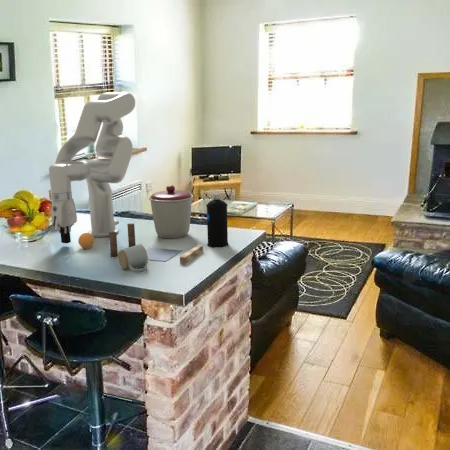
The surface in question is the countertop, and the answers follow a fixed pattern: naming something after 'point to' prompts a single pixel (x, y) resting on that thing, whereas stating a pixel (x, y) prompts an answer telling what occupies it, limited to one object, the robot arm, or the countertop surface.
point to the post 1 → (113, 244)
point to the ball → (86, 240)
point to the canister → (171, 212)
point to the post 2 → (131, 234)
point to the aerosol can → (217, 223)
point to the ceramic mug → (133, 258)
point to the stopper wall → (191, 254)
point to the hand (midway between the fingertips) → (66, 242)
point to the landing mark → (161, 254)
